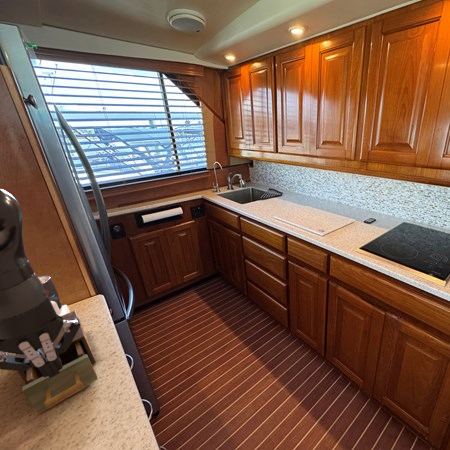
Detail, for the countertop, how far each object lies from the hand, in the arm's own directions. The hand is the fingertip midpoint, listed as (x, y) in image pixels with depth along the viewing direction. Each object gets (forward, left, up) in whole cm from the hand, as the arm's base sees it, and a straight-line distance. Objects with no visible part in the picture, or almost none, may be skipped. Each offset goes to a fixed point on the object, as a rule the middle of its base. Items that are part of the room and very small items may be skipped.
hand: (54, 373), depth 48 cm
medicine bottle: (-22, +19, -10) cm, 31 cm away
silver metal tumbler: (-29, +24, -10) cm, 39 cm away
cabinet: (-12, +11, -10) cm, 19 cm away
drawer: (-5, +4, -9) cm, 11 cm away
